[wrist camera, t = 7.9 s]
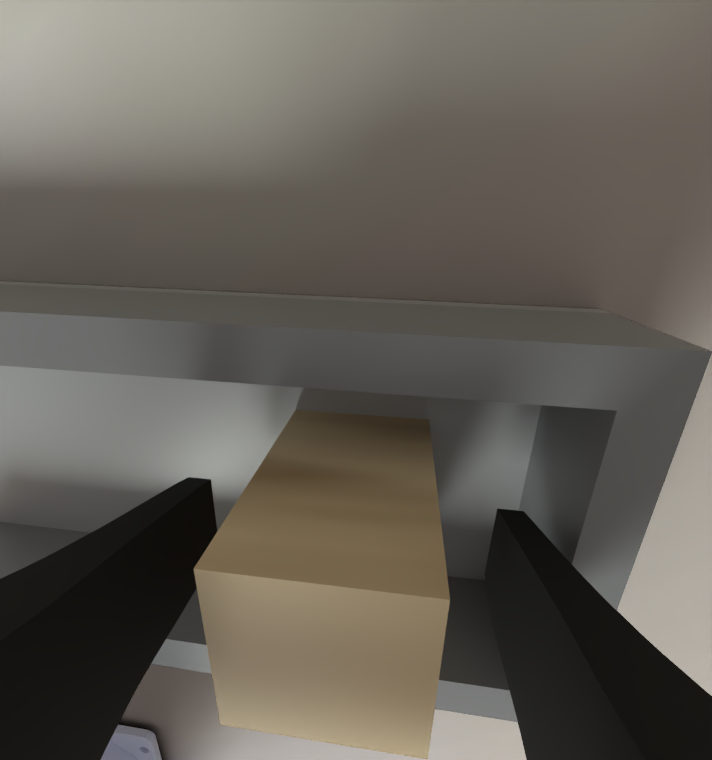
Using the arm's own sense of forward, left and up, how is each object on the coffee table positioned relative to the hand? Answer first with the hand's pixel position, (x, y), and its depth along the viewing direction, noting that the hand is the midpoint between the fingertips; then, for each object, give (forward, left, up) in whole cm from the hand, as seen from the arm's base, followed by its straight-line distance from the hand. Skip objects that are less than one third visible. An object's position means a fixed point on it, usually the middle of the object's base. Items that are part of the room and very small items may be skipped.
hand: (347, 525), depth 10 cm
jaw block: (0, 0, -3) cm, 3 cm away
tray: (0, +4, -3) cm, 5 cm away
